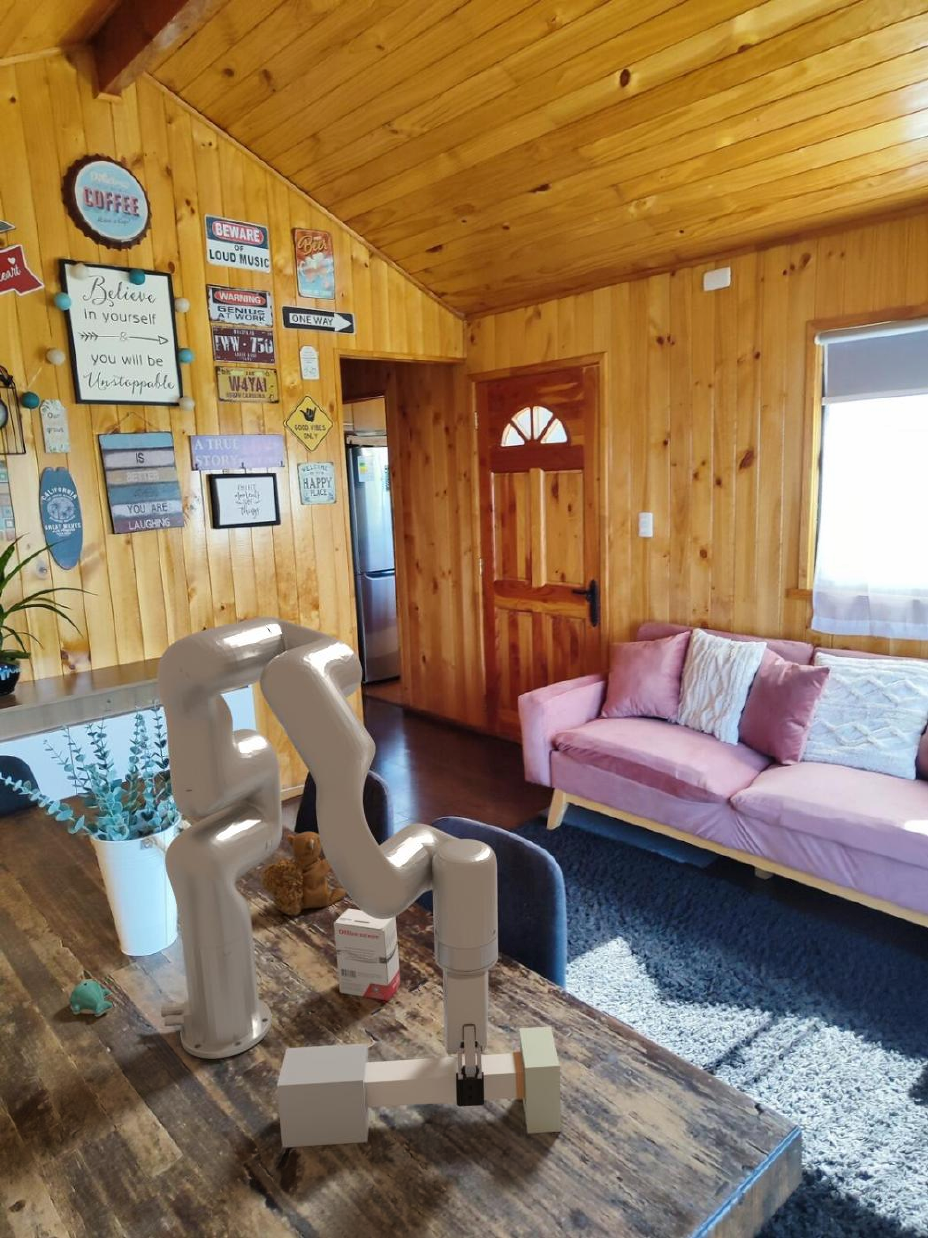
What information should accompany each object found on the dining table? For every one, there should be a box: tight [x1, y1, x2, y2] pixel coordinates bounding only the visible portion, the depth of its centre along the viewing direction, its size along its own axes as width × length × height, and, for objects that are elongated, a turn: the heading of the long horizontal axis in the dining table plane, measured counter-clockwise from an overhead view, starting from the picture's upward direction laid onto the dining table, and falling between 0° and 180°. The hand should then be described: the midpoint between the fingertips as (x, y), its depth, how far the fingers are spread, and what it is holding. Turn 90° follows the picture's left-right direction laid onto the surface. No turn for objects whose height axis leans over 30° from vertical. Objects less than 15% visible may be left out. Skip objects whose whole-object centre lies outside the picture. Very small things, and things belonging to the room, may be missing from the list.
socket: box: [518, 1026, 562, 1134], centre depth 100 cm, size 4×7×9 cm, turn 2°
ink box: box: [333, 908, 402, 1002], centre depth 126 cm, size 9×5×12 cm, turn 71°
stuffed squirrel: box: [259, 831, 346, 917], centre depth 152 cm, size 10×14×13 cm
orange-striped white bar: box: [364, 1051, 526, 1109], centre depth 100 cm, size 24×4×4 cm, turn 92°
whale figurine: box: [69, 980, 114, 1017], centre depth 124 cm, size 6×7×4 cm
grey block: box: [276, 1042, 372, 1148], centre depth 99 cm, size 10×6×8 cm, turn 92°
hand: (468, 1073), depth 100 cm, fingers open, 9 cm apart
